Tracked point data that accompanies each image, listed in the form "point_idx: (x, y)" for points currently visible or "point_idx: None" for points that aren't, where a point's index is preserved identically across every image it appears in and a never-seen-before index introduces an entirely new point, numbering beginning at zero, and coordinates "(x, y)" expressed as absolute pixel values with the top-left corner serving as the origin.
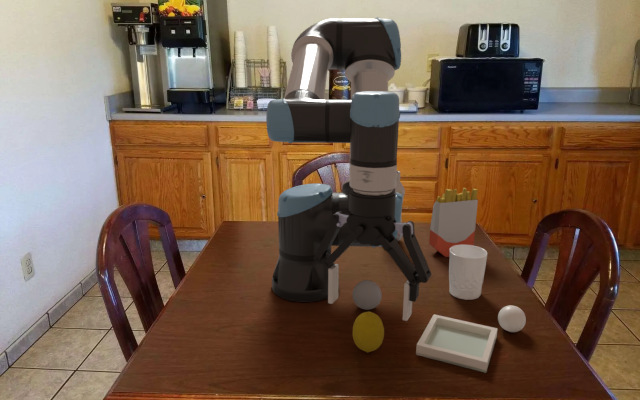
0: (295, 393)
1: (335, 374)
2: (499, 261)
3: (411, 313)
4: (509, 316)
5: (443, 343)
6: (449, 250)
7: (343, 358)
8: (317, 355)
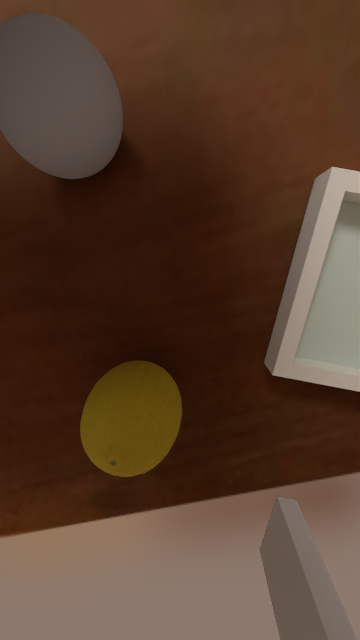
0: (54, 525)
1: None
2: None
3: (297, 507)
4: None
5: (341, 305)
6: None
7: None
8: (44, 417)
